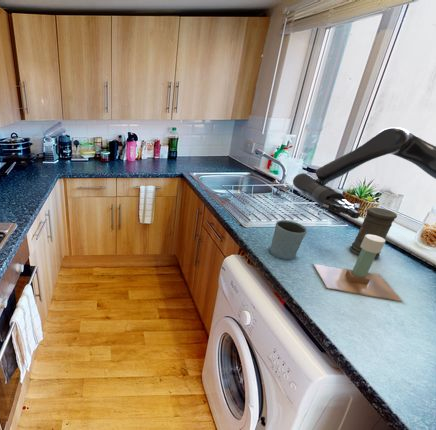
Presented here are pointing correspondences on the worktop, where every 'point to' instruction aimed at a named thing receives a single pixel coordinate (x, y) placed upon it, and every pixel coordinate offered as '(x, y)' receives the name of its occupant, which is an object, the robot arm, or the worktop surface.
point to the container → (373, 227)
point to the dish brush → (365, 258)
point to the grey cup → (287, 239)
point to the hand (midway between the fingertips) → (356, 215)
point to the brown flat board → (340, 282)
